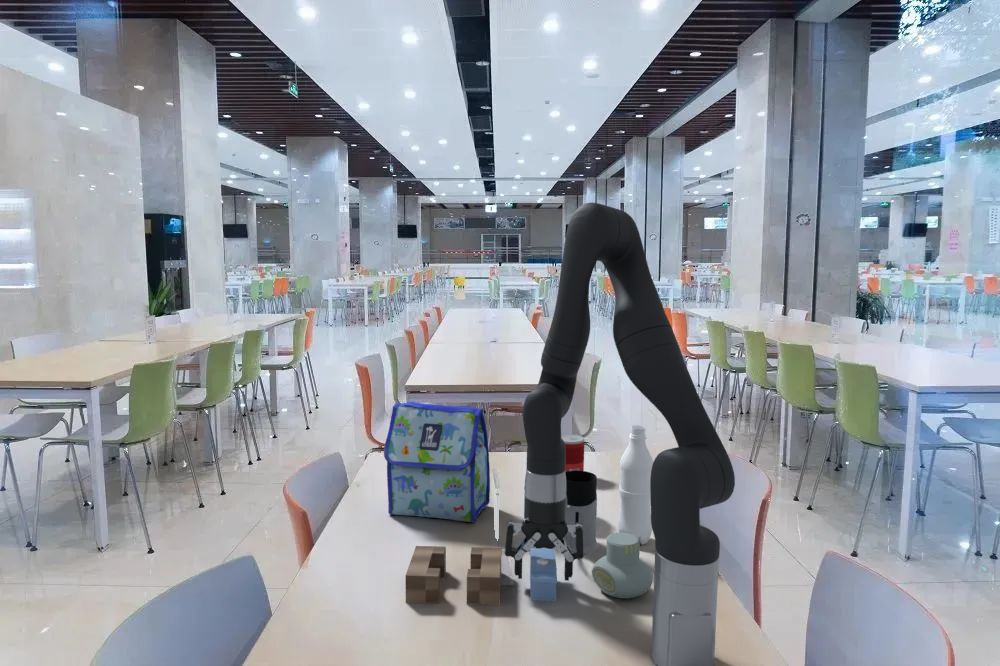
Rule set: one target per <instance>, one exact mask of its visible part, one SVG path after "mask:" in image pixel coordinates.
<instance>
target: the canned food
mask: <svg viewBox="0 0 1000 666" xmlns="http://www.w3.org/2000/svg"><path fill="white" fill-rule="evenodd" d="M561 439H562V440H563V441H564V443H565V447H566V464H565V472H567V471H585V437H583V436H581V435H580V434H579V435H578V434H561Z"/></svg>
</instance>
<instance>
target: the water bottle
mask: <svg viewBox="0 0 1000 666" xmlns="http://www.w3.org/2000/svg"><path fill="white" fill-rule="evenodd" d="M628 437H629V443H628V445H627V447H626V449H625V450H624V452H623V454H622V456H621V458H620V462H619V486H618V491H619V496H620V511H619V516H618V520H617V530H618V532H617V533H629V534H632V535H634V536H636V537H637V538H638V539H639V541H640V545H646V544H647V543H648V542H649V540H650V538H651V536H652V533H653V530H652V525H651V494H650V478H651V469H652V465H653V462H654V460H653V456H652V455H651V453H650V450H649V448H648V447H647V444H646V440H647V435H646V427H645V426H644V425H638V424H634V425H631V426H630V433H629V436H628Z"/></svg>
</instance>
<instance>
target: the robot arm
mask: <svg viewBox="0 0 1000 666" xmlns="http://www.w3.org/2000/svg"><path fill="white" fill-rule="evenodd" d="M566 228H567V229H566V234H565V238H564V239H565V240H564V247H563V254H562V260H561V267H560V273H559V281H558V287H557V294H556V295H557V296H556V301H555V306H554V312H553V317H552V320H551V324H550V327H549V330H548V333H547V336H546V340H545V344H544V347H543V350H542V353H541V358H540V366H541V368H542V369H541V372H540V377H539V380H538V383H537V386H536V387H535V389H533V390H531V391H530V392H528V394H527V395H526V397H525V400H524V403H523V408H522V421H523V429H524V436H525V437H524V438H525V440H526V446H527V448H526V469H525V470H526V471H525V477H524V487H523V488H524V501H523V502H524V505H523V507H524V508H523V509H524V511H523V521H522V522H521V523H519V522H514V520H512V519H510V520H509V519H508V521H507V522H506V523H507V525H506V534H505V535H506V536H505V537H506V538H505V550H504V555H505V556H506V557H511V558H513V559H514V575H515V576H517V578H518V580H522V579H523V558H524V556H525V554H526V553H528V552H530V549H531V548H539V549H540V548H548V549H553V548H554V549H555V548H557V550H558V551H559V553H560V554H562V556H563V557H564V570H563V571H564V572H563V573H564V575H563V576H564V581H565V582H566V581H568V582H569V579H570V578H572V577H573V575H574V574H573V571H574V569H573V567H574V561H575V560H582V559H584V554H583V530H582V525H581V523H579V522H577V523H576V524H575V525H567V524H566V522H565V517H566V474H565V464H566V447H565V443H564V441H563V440H562V439H561V435H562V419H563V418H564V417H565V416H566V414H567V413H568V412H569V409H570V407H571V404H572V401H573V399H574V394H575V389H576V384H577V379H578V372H579V369H580V367H581V365H582V361H583V358H584V355H585V352H586V349H587V345H588V343H589V341H590V340H589V339H590V334H591V311H590V303H589V302H590V301H589V294H590V293H589V291H590V281H591V277H592V274H593V272H594V269H595V266H596V264H597V261H598V262H601V263H602V265H603V266H604V268H605V270H606V272H607V274H608V277H609V279H610V283H611V285H612V287H613V291H614V296H615V297H614V298H615V301H614V302H615V303H614V314H613V320H612V321H613V323H612V336H613V341H614V344H615V348H616V350H617V353H618V356H619V359H620V361H621V365H622V367H623V369H624V372H625V374H626V375H627V377H628V378H629V381H631V383H632V384H633V385H634V387H635V388H636V389H637V390H638V391H639V392H640V393H641V394H642V395H643V396H644V398H646V399H647V400H648V401H649V402H650V403H651V404H652V405H653V406H654V407H655V408H656V409H657V410H658V411H659V412H660V413H661V414H662V417H664V419H665V420H666V422H667V424H668V426H669V427H670V428H671V429H670V430H671V431H672V434H673V435H674V438H675V441H676V444H677V446H678V447H672V448H668V449H664V450H662V451H661V452H659V453H658V454H657V455H656V457H655V458H654V460H653V465H652V469H651V478H650V494H651V506H650V513H651V525H652V533H653V537H654V541H655V543H654V544H655V545H654V547H655V548H654V549H655V550H654V566H653V567H654V568H653V569H654V570H653V598H652V621H651V622H652V623H651V654H652V655H651V656H652V657H651V659H652V661H653V662H655V663H656V664H657V665H658V666H715V652H716V630H717V629H716V628H717V608H718V589H719V588H718V586H719V585H718V584H719V570H720V569H719V567H720V565H719V564H720V554H721V553H720V550H721V549H720V546H721V543H720V538H719V537H718V534H716V532H715V531H714V530H711V529H710V528H708V527H706V526H705V525H704V526H703V525H701V519H700V517H701V516H700V512H701V511H700V510H702V509H704V508H709V507H712V506H717V505H720V504H722V503H725V502H727V501H728V500H729V499H730V498H731V496H733V493H734V490H735V485H736V479H735V478H736V477H735V470H734V467H733V464H732V461H731V459H730V456H729V454H728V452H727V450H726V448H725V446H724V444H723V442H722V440H721V438H720V437H719V434H718V432H717V430H716V429H715V426H714V424H713V422H712V421H711V419H710V417H709V415H708V413H707V411H706V409H705V407H704V405H703V402H702V400H701V397H700V396H699V393H698V391H697V388H696V386H695V384H694V381H693V379H692V377H691V376H692V375H690V372H689V369H688V367H687V365H686V363H685V359H684V357H683V354H682V351H681V349H680V348H681V347H680V345H679V343H678V340H677V338H676V335H675V332H674V330H673V327H672V325H671V323H670V321H669V318H668V316H667V314H666V312H665V309H664V306H663V304H662V300H661V298H660V295H659V293H658V290H657V287H656V285H655V283H654V280H653V278H652V275H651V272H650V267H649V264H648V261H647V258H646V257H647V256H646V253H645V250H644V245H643V241H642V237H641V235H640V232H639V228H638V225H637V223H636V222H635V220H634V218H633V217H632V216H631V215H629V213H628V212H626V211H624V210H621V209H619V208H615V207H612V206H609V205H606V204H602V203H597V202H587V203H586V202H585V203H584V204H582V205H580V206H579V207H578V208H577V209H576V210H575V211H574V212H573V214H572V215H571V216H570V220H569V222H568V225H567V227H566ZM519 531H521V533H522V534H523V535H524V538H523V539H522V540H521V542H520V544H519V545H517V547H514V546H513V543H514V541H513V539H514V536H517V535H518V533H519ZM567 532H570V533H571V535H572V537H575V538H576V549H574V550H571V549H570V548H569V546H568V545H567V544H566V542H565V540H564V539H563V538H564V536H565V535H566V534H567ZM655 663H654V664H655ZM656 664H655V665H656ZM657 665H656V666H657Z"/></svg>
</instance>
